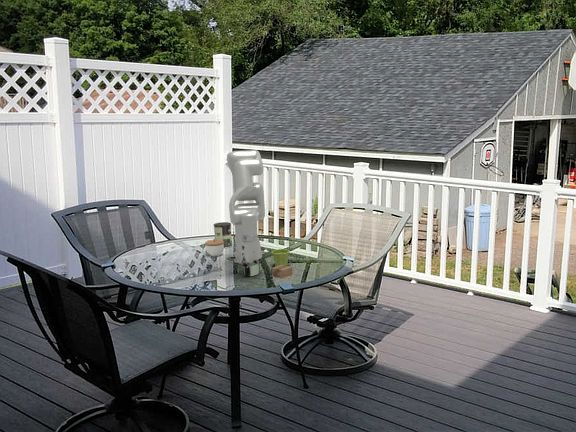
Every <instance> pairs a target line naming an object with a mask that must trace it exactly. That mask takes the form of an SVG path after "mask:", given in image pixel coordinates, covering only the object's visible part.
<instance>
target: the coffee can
mask: <svg viewBox="0 0 576 432" xmlns="http://www.w3.org/2000/svg"><path fill="white" fill-rule="evenodd" d="M213 229H214V239H215V240H223V241H224V248H226V249H229V248H228V247H230V248H232V247H233V240H232V239H233V238H232V223H231V222H227V221H226V222H224V221H223V222H216V223H214V224H213ZM231 246H232V247H231Z"/></svg>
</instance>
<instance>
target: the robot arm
mask: <svg viewBox="0 0 576 432" xmlns="http://www.w3.org/2000/svg"><path fill="white" fill-rule="evenodd" d="M226 161H227V162H226V163H227V166H228V167H229V170H230V173H231V177H232V188H233V194H232V196H231V198H230V200H229V204H228V208H229V209H228V210H229V219H230V223H231V225H234V234H235V238H234V239H235V251H234V252H233V253H232V256H234V257H235V258H233V262H234V263H235V264H239V265H241V266H243V269H244V268H245V274H244V275H245V276H249V275H250V268H249V263H251V262H253V263H256V264H258V265H260V262H261V259H262V257H263V254H262V247H261V246H262V245H261V242H260V238H259V237H258V236H259V235H258V221H262V220H264V219H265V217H266V207H265V206H266V205H265V194H264V193H265V191H264V186H263V184H262V183H260V182H258V181H257V182H253V176H262V175H263V172H264V163H263V160H262V156H261V153H260V151H258V150H257V149H256V150H255V149H253V150H252V149H250V150H247V149H246V150H235V151H230V152H228V153H227V155H226ZM247 201H249V202H247ZM250 201H255V202H250ZM236 202H247V203H238V204H236Z"/></svg>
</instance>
